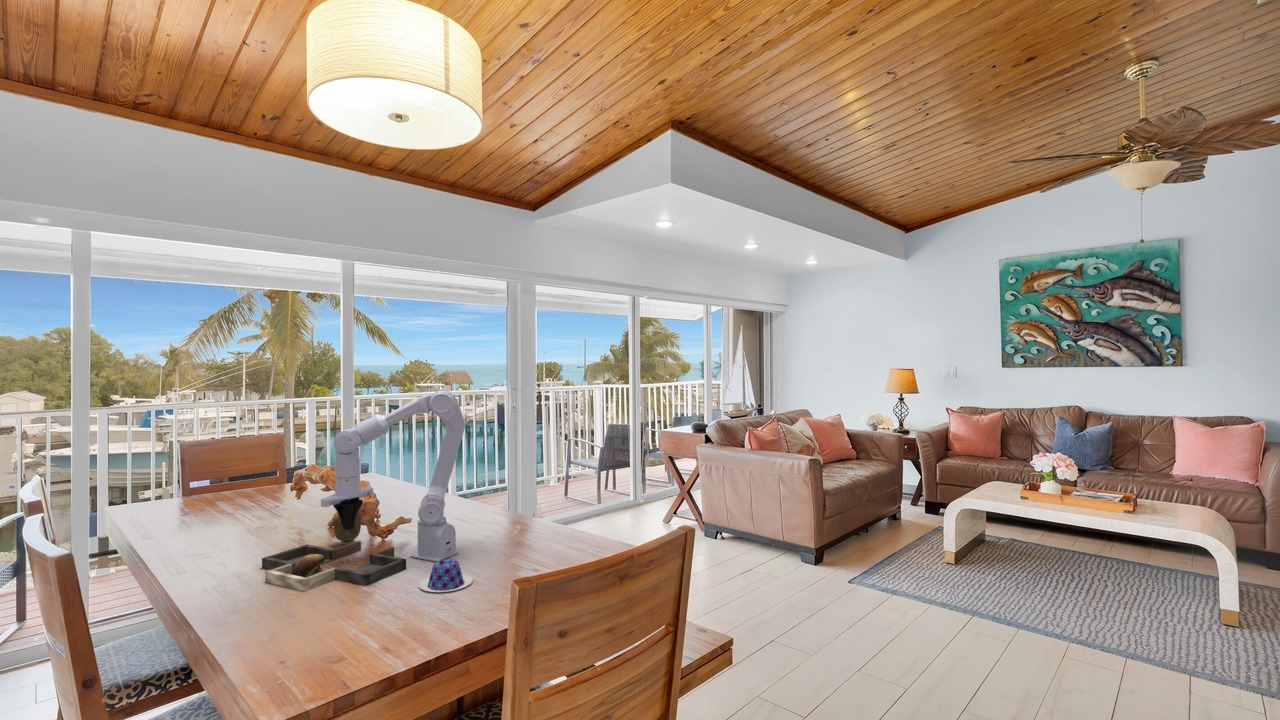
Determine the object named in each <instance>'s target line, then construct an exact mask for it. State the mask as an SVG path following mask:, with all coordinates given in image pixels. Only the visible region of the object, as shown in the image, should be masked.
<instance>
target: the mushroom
mask: <svg viewBox="0 0 1280 720" xmlns="http://www.w3.org/2000/svg"><path fill="white" fill-rule="evenodd" d="M324 560H325V557H324V556H323V555H321V554H309V555H306V556H305V557H303V558H302V559H300V560H299V561H298V562H297V563H296V564H295V565H294V567H293V569H292V575H296V576H300V577H305V578H306V577H309V576H311V575H314V574H317V573H320V572H322V571H325V570H324V569H323V568H321V564H322V563H323V562H324ZM322 565H323V564H322Z"/></svg>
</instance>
